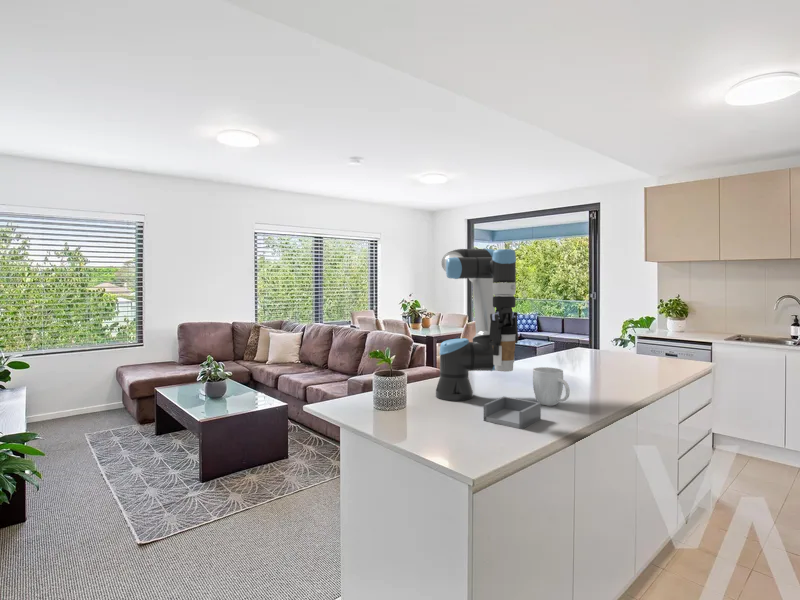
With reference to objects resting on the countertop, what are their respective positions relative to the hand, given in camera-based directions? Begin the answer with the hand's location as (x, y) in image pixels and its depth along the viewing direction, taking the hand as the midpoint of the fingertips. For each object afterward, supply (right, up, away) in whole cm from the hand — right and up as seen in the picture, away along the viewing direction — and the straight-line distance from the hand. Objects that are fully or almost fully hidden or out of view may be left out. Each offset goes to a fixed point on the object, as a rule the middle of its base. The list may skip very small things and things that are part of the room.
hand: (504, 363), depth 154 cm
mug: (+22, -19, +20) cm, 36 cm away
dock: (+3, -19, +1) cm, 20 cm away
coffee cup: (0, -2, 0) cm, 2 cm away
